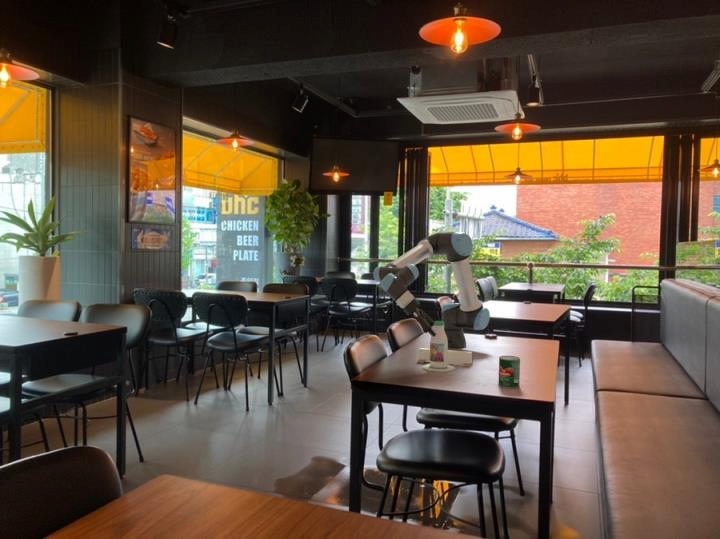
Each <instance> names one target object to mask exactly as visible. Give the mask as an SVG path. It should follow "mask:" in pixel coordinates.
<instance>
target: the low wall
mask: <svg viewBox="0 0 720 539" xmlns="http://www.w3.org/2000/svg"><path fill="white" fill-rule="evenodd" d="M472 356H473V352H472V351H464V350H463V351H462V350H452V349H451V350H450V349H448V365H452V364H453V365H454V366H455V365H456V366H463V367H464V368H465V367H467V368H470V367H472V365H473V361H472V359H473V358H472ZM424 362H425V363H429V362H430V348H425V347H424V348H422V347H419V348H418V359H417V363H419V364H420V363H421V364H424ZM453 365H452V366H453Z"/></svg>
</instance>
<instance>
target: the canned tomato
mask: <svg viewBox="0 0 720 539" xmlns="http://www.w3.org/2000/svg"><path fill="white" fill-rule="evenodd" d="M498 357H499V358H498V387H500V388H505V389H518V388H520V380H521V379H520V378H521V377H520V376H521V374H520V372H521V357H519V356H515V355H501V356H498Z"/></svg>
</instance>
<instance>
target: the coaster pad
mask: <svg viewBox="0 0 720 539" xmlns="http://www.w3.org/2000/svg"><path fill="white" fill-rule="evenodd" d="M422 369H423V370H424V369H425V371H427V370H428V371H427V372H433V371H434V372H435V373H448V372H454V371H455V370H456V368H455V366H453V365H452V364H448V365H447V367H446V368H433V367H431V366H430V363H428V364H424V365H422Z"/></svg>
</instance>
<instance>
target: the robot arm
mask: <svg viewBox="0 0 720 539" xmlns="http://www.w3.org/2000/svg"><path fill="white" fill-rule="evenodd" d="M473 244H474V243H473V241H472V238H471V236H470V235H469V234H468V233H466V232H464V231H463V232H462V231H450V232H449V231H441V232H440V231H439V232H435V233H433V234H431V235H428V236H427V237H425V238H423V239H422V240H420V241H418V243H417V245H416V246H414V247H413V248H411V249H410V250H408V251H406V252H405V253H403V254H402V255H401V256H399V257H397V258H396V259H394V260H392V261H391V262H390V263H389V262H388V264H386V265H384V266H377V267H375V269H373V273H372V274H373V275H372V276H373V279H374V280H375V282H377V283H379V286H381V288H382V289H383V291H384V292H385V293H386V294H387V295H388V296H389V297H391V299H392V300H393V301H394V302H395V303H396V306H399V307H400V308H401V309H402V310H403V312H404V313H405V314H406V315H407V316H409V315H412V317H413V318H414V319H415V320H416V322H418V323H419V325H420V326H421V328H422V329H423V330H424V333H425V334H429V336H430V337H431V336H432V337H433V338H434V339H435V340H436V342H437V343H440V342H441V341H442V340H443V338H442V337H441V336H440V335H439V334H438V333H437V332H436V331H435V330H434V321H435V320H434V319H433V318H431V317H430V316H429V314H427V313H426V312H424V310H422V308H421V307H419V306H420V305H421V302H419V300H418V299H417V298H415V296H414V295H413V294H412V293H411V292H410V290H408V289H407V287H408V286H410V285H411V284H412V283H413V282H414V281H415V280H416V279H417V278H418V277H419V276H420V272H419V269H418V267H417V266H416V265H417V264H419V263H421V262H422V261H423V260H425V259H430V258H432V257H434V256H445V257H446V259H447V260H446V262H448V263H450V264H451V267H452V272H453V274H454V279H455V283H456V286H457V290H458V293H459V294H458V295H459V297H460V301H461V302H453V303H444V304H443V305H442V307H441V321H444V331H445V334H446V336H447V340H448V349H449V348H450V349H462V348H466V347H467V341H466V336H465V334H464V329H470V330H474V331H477V330H478V331H482V330H484V329H485V328H486V327H488V325H489V322H490V318H491V315H490V314H491V313H490V310H489V309H488V308H487V307H484V306H483V302H482V300H479V297H478V293H477V290H476V285H475V282H474V278H473V273H472V270H471V266H470V262H469V258H471V257H470V256H471V254H472V252H473V246H474V245H473Z"/></svg>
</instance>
